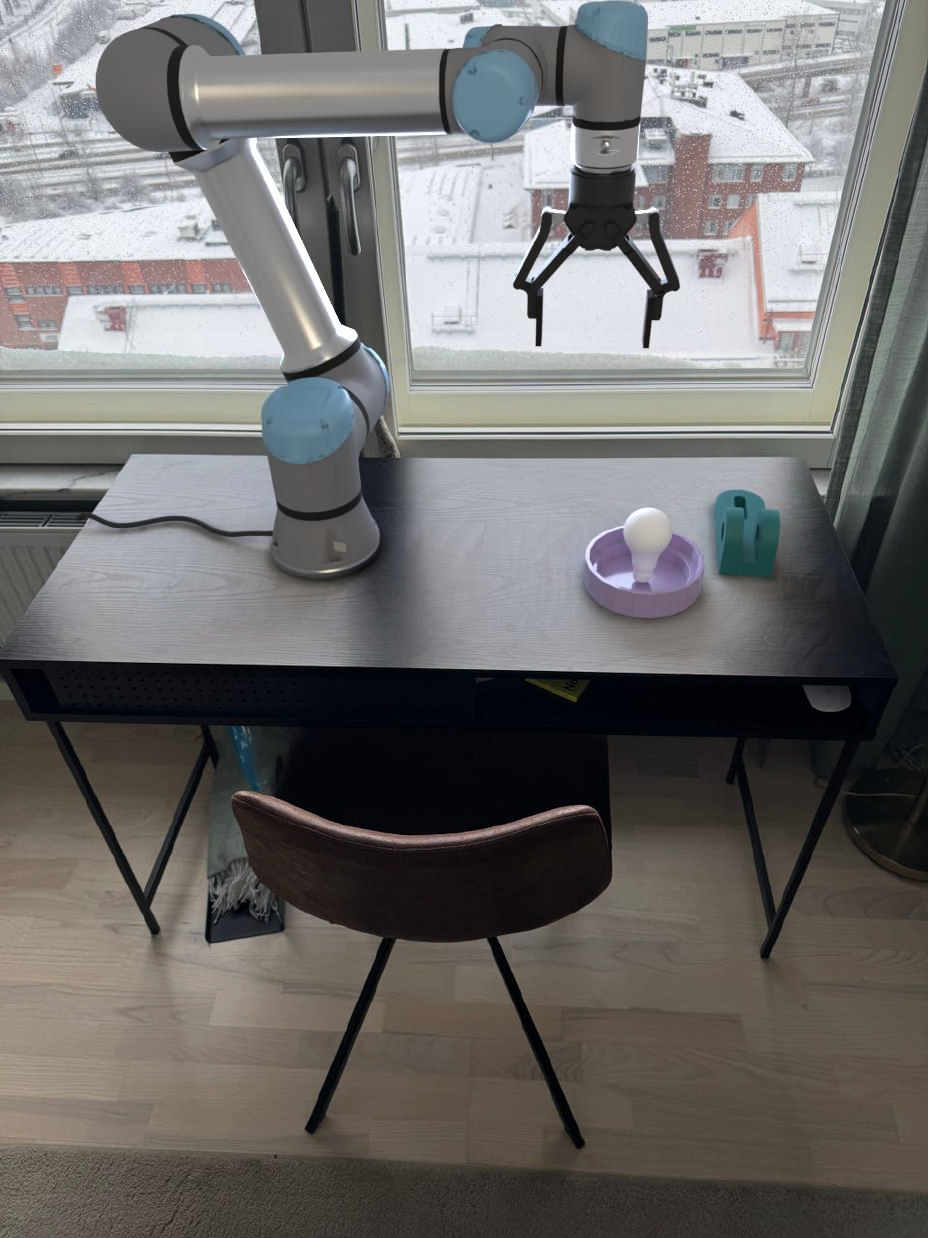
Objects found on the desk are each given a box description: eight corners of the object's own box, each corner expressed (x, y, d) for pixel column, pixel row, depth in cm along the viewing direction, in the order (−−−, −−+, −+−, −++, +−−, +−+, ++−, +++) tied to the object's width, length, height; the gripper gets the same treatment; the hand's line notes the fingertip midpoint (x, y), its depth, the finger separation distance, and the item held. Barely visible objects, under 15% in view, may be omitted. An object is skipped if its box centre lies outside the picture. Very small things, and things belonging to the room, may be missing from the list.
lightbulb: (632, 562, 127) (639, 493, 120) (673, 577, 124) (683, 507, 117) (610, 585, 123) (616, 515, 116) (652, 601, 120) (661, 530, 113)
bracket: (770, 577, 124) (782, 528, 119) (718, 573, 125) (727, 525, 120) (759, 504, 138) (769, 457, 133) (713, 501, 139) (721, 454, 134)
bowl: (566, 603, 121) (568, 575, 118) (606, 541, 132) (608, 514, 129) (681, 634, 116) (685, 606, 113) (712, 567, 126) (717, 540, 123)
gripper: (491, 173, 104) (492, 353, 118) (718, 173, 102) (693, 357, 116) (496, 155, 110) (497, 329, 124) (711, 155, 108) (688, 332, 121)
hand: (591, 343), depth 120 cm, fingers open, 13 cm apart
